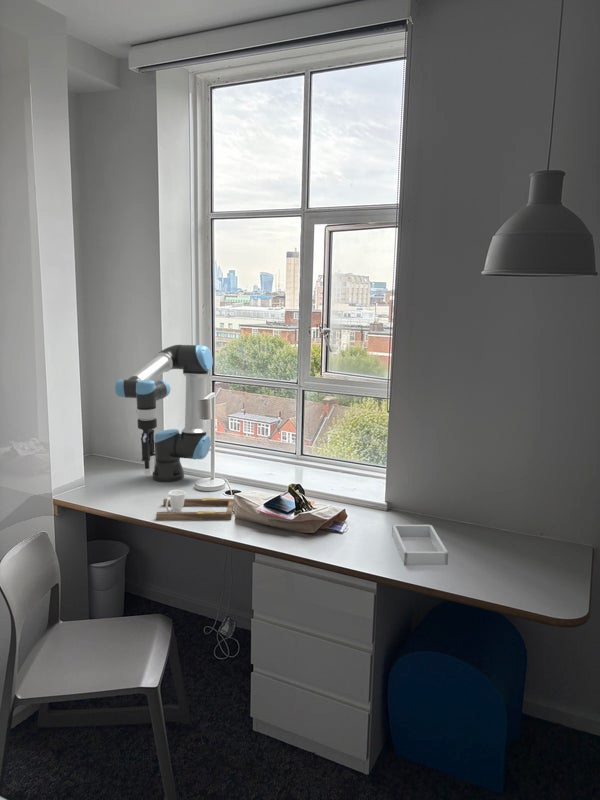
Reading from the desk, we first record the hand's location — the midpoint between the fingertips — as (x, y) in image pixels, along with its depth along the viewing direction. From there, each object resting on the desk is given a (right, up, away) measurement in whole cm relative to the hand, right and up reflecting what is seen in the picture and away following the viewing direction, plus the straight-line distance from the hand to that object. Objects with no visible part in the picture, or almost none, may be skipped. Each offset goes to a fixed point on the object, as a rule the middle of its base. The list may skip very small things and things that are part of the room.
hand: (149, 473), depth 251 cm
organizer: (+105, -24, -30) cm, 112 cm away
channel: (+18, -16, +4) cm, 25 cm away
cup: (+10, -17, +4) cm, 20 cm away
